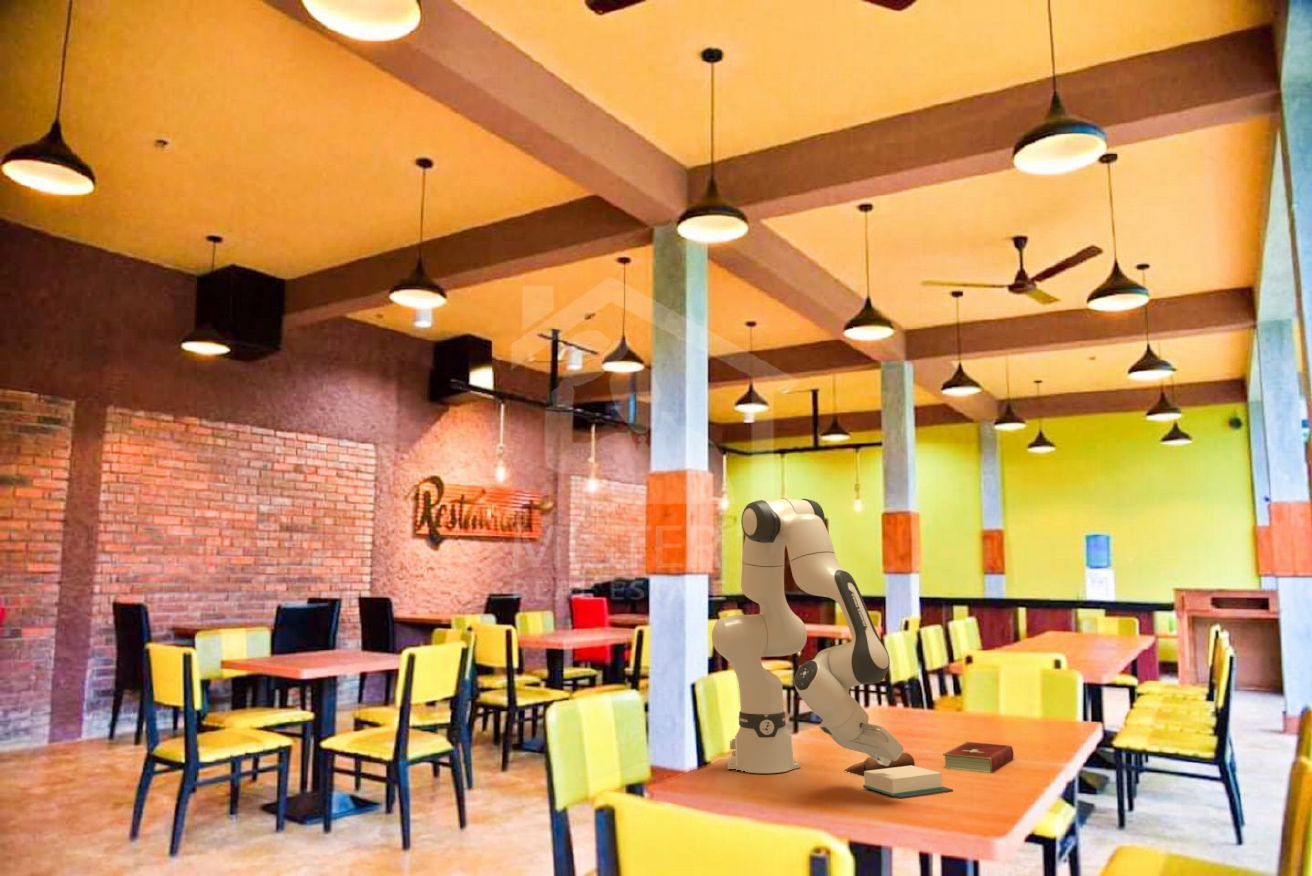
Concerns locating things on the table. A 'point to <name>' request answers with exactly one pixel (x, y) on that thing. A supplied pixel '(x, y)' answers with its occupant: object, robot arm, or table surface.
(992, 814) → the table surface
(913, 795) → the mat
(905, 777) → the cream rectangular block
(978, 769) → the hardcover book
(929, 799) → the table surface
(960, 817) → the table surface
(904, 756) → the sweet potato
